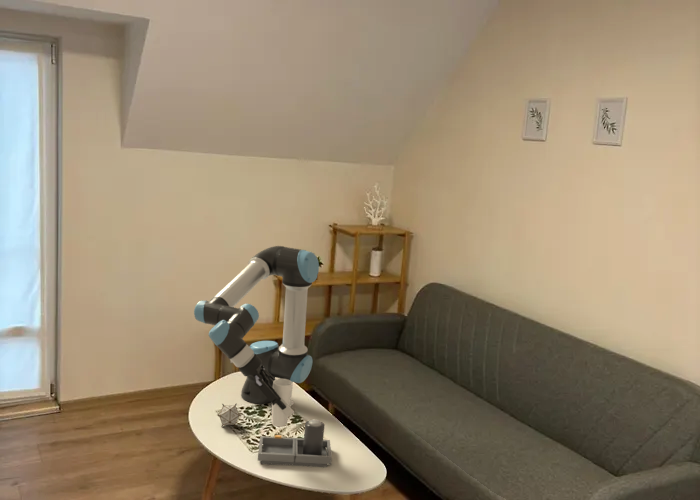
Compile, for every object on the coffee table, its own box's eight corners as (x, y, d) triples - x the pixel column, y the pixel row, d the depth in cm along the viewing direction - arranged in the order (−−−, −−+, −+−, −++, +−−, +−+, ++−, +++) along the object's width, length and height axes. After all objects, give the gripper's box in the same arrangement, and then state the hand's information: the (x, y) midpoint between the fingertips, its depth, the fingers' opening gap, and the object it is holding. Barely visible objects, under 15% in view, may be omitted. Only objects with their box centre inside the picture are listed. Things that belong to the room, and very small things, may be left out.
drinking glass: (285, 430, 217) (289, 387, 214) (266, 426, 218) (270, 383, 215) (291, 421, 223) (295, 380, 221) (272, 418, 224) (276, 377, 222)
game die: (222, 434, 241) (208, 411, 241) (240, 421, 246) (227, 398, 247) (231, 432, 234) (217, 408, 234) (249, 419, 239) (236, 395, 239)
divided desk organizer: (259, 444, 229) (262, 410, 226) (328, 448, 231) (332, 415, 229) (257, 463, 216) (260, 427, 214) (330, 467, 218) (334, 432, 216)
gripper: (240, 357, 225) (283, 404, 230) (235, 378, 206) (282, 429, 211) (256, 344, 225) (299, 391, 229) (253, 363, 206) (299, 415, 210)
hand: (290, 409), depth 220 cm, fingers closed on drinking glass, 7 cm apart
